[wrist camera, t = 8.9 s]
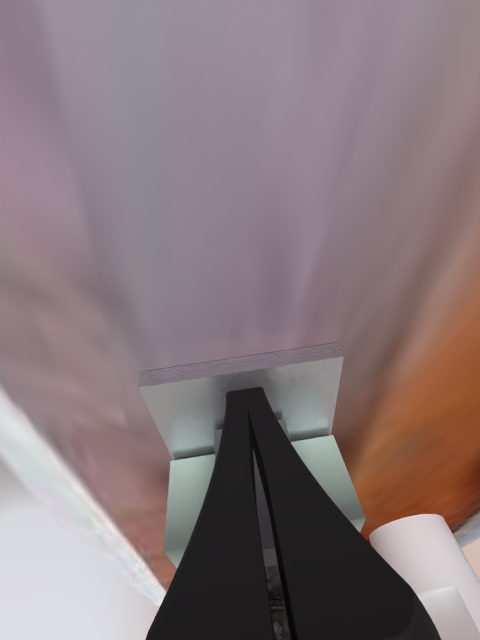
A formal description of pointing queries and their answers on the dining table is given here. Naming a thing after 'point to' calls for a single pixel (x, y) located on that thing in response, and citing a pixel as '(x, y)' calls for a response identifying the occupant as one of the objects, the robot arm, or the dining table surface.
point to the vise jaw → (196, 473)
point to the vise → (235, 374)
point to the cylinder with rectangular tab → (433, 572)
